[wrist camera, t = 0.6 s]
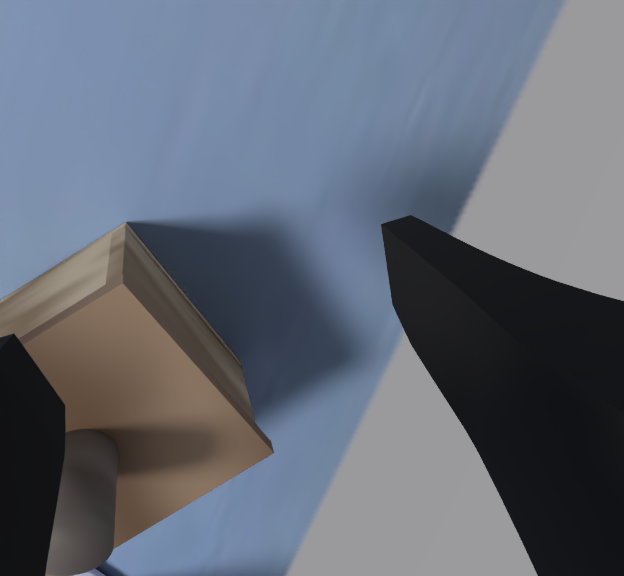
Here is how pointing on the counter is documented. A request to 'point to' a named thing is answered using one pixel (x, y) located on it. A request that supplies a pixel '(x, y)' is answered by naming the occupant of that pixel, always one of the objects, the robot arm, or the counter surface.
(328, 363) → the counter surface
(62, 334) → the lid
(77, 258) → the box
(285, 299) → the counter surface
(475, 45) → the counter surface
